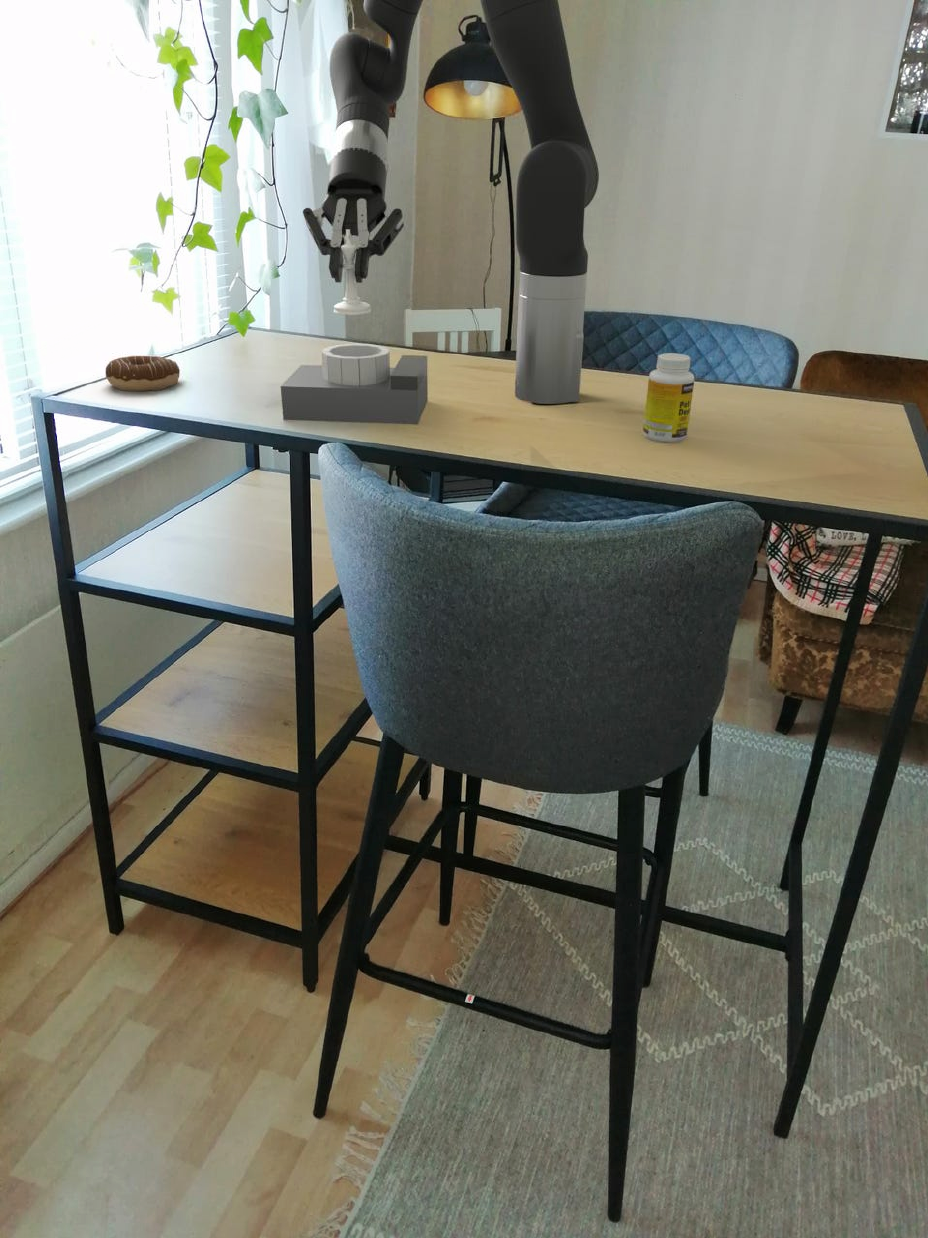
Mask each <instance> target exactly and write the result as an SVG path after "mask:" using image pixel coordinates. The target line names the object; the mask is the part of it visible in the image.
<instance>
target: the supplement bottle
mask: <svg viewBox="0 0 928 1238" xmlns="http://www.w3.org/2000/svg"><path fill="white" fill-rule="evenodd" d="M690 368H691V357H690V355H688V354H682V353H677V352H676V353H675V352H673V353H672V352H671V353H669V352H667V353H661V354H658V356H657V361H656V369H653V370H652V371H650V373H649V376H648V383H647V391H646V392H647V393H646V403H645V412H644V420H643V427H642V428H643V429H642V430H643V433H642V434H643V435H644V437H646V438H647V439H649V440H651V441H654V442H659V443H678V442H681V441H683V440H685V439H686V437H687V435H688V429H689V423H690V415H691V409H692V408H691V406H692V400H693V392H694V386H695V385H694V384H695V375H694V374H693V372H691V371H690Z"/></svg>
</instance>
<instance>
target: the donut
mask: <svg viewBox="0 0 928 1238" xmlns="http://www.w3.org/2000/svg"><path fill="white" fill-rule="evenodd" d="M180 373H181V372H180V368H179V365H178V363H177V362H176V361H174V360H173V359H170V358H166V357H162V356H151V355H130V356H129V355H128V356H122V357H118V358H115V359H112V360H111V361H109V363H107V365H106V367H105V377H106V379H107V381H108V383H109V384H110V385H112V386H113V387H114V388H116V389H119V390H122V391H129V392H148V391H158V390H163V389H166V388H169V387H170V388H171V386H174V385H175V384H176V383H177V382H178V380H179V379H180Z"/></svg>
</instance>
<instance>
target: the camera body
mask: <svg viewBox="0 0 928 1238" xmlns="http://www.w3.org/2000/svg"><path fill="white" fill-rule="evenodd" d="M390 358H391V357H390V349H389V348H387V347H385V346H383V345H376V344H371V343H347V344H346V343H345V344H337V345H331V346H327V347H325V348H324V349H323V350H322V351H321V365H319V364H317V365H316V364H315V365H313V364H301V365H299V367H298V368H297V369H296V370H295V371H294V372H293V373H292V374H291V375H290V376H289V377H288V378H287V379H286V380H285V381H284V382H283V383H282V384H281V385H280V393H281V404H282V405H281V407H282V417H283V419H282V420H283V421H301V422H302V421H303V422H305V421H306V422H307V421H308V422H310V421H311V422H332V423H333V422H335V423H339V422H340V423H365V424H391V425H392V424H393V425H397V424H398V425H419V422H420V420H421V417H422V415H423V413H424V410H425V408H426V405H427V403H428V401H429V400H428V399H429V398H428V394H429V393H428V389H429V388H428V355H418V354H417V355H413V354H402V356H401V357H400V359H399V360H398V362H397V363H396V366H395V367H391V359H390Z"/></svg>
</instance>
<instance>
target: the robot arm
mask: <svg viewBox="0 0 928 1238" xmlns="http://www.w3.org/2000/svg"><path fill="white" fill-rule="evenodd" d="M363 1H364V2H363V11H364V12H365V14H366V16H367V17H368V18H369V19H370V20H371V21H372V23H374V24H375V25H377V27H379V28H381V30H383V31H384V32H385V33H386V34H387V35H388V36H389V39H390V40H389V42H390V43H389V46H388V47H387V46H386V45H383V44H381V43H379V42H377V41H375V40H372V39H370V38H368V37H366V36H364V35H361V34H359V33H356V32H346V33H344V34H342V35H340V37H338V38H337V39H336V41H335V42H334V44H333V46H332V48H331V51H330V56H329V76H330V77H329V78H330V83H331V87H332V93H333V95H334V99H335V105H336V111H337V115H336V116H337V118H336V123H335V124H336V127H335V135H334V138H333V143H332V147H331V155H330V164H329V171H328V172H329V173H328V181H327V190H326V196H325V199H324V200H323V201H322V203H321V207H318V208H317V209H314V210H312V208H310V207H305V208H304V209H303V210H302V214H303V215H302V216H303V217H304V221H305V224H306V227H307V228H308V231H309V233H310V235H311V237H312V239H313V240H314V243H315V244H316V247H317V248H318V250H319V252H320V254H321V255H322V256H328V255H329V262H328V271H329V273H330V277H331V278H332V279H334V282H335V283H338V284H339V283H340V284H341V283H342V280H343V271H344V270H343V269H344V268H342V265H343V264H344V261H345V258H344V254H343V252H342V249H341V246H342V245H345V244H347V241H346V239H345V235H346V229H350V234H351V237H352V236H356V237H358V248H357V249H356V253H355V258H354V264H355V268H354V275H355V282H356V284H360V283H363V279H367V278H368V275H369V265H370V259H371V257H373V256H374V255H376V256H378V257H382V256H384V255H385V253H386V251H387V250H388V249H389V247H390V246H391V245H392V244H393V242H394V240H395V239H396V238H397V237H398V235H399V233H400V232H401V231H402V230H403V228H404V227H405V224H404V223H405V222H404V215H403V211H402V209H401V208H394V209H391V208H389V207H388V206H387V203H386V201H385V199H386V188H387V187H386V186H387V185H386V184H387V175H388V171H389V150H388V140H389V128H390V118H391V117H390V110H389V108H390V107H391V106H393V105H394V104H395V103H397V102H398V101H399V100H400V98H401V97H402V95H403V93H404V90H405V86H406V80H407V72H408V71H407V70H408V59H409V54H410V53H409V52H410V47H411V46H410V45H411V39H412V35H413V30H414V26H415V23H416V19H417V17H418V15H419V12H420V9H421V7H422V4H423V1H424V0H363ZM480 4H481V8H482V13H483V16H484V20H485V25H486V29H487V33H488V35H489V39H490V40H491V44H492V48H493V49H494V52H495V55H496V57H497V59H498V62H499V64H500V66H501V69H502V70H503V72H504V74H505V76H506V78H507V80H508V82H509V84H510V86H511V88H512V90H513V92H514V94H515V96H516V98H517V100H518V103H519V105H520V107H521V110H522V114H523V116H524V120H525V124H526V128H527V129H526V130H527V133H528V139H529V144H530V150H529V151H528V152H527V154H526V155H525V156H524V157H523V160H522V162H521V164H520V166H519V170H518V174H517V175H518V176H517V180H516V181H517V183H516V202H515V205H516V206H515V212H516V213H515V217H516V218H515V240H516V243H515V244H516V249H517V253H518V256H519V281H518V283H519V284H518V306H517V307H518V309H517V330H516V331H517V332H516V334H517V335H516V354H515V356H516V357H515V360H516V361H515V379H514V382H515V383H514V387H515V388H514V396H515V397H516V398H517V399H519V400H521V401H524V402H529V403H534V404H542V405H554V404H555V405H556V404H557V405H558V404H566V403H579V401H580V392H581V391H580V389H581V378H582V375H581V374H582V362H583V349H584V331H583V330H584V319H585V318H584V317H585V302H586V289H587V288H586V287H587V276H588V275H587V274H588V273H587V272H588V261H589V254H588V251H587V249H586V246H585V240H584V229H585V227H584V225H585V224H584V223H585V210H586V209H587V207H588V206H589V205H590V204H591V203H592V201H593V199H594V198H595V196H596V194H597V190H598V186H599V181H600V180H599V179H600V172H599V171H600V170H599V165H598V162H597V158H596V155H595V151H594V149H593V146H592V143H591V140H590V138H589V134H588V130H587V128H586V125H585V122H584V119H583V116H582V111H581V109H580V105H579V102H578V99H577V95H576V94H577V93H576V91H575V86H574V81H573V76H572V75H573V74H572V68H571V63H570V62H571V61H570V56H569V51H568V45H567V42H566V41H567V40H566V36H565V35H566V34H565V31H564V26H563V21H562V17H561V16H562V15H561V10H560V9H561V8H560V4H559V0H480ZM324 219H326V220H327V222H328V223H329V224H330V226H331V227H332V234H331V238H330V239H329V238H327V236H326V235H325V233H324V231H323V229H322V227H323V225H324ZM382 221H383V224H382V226H381V227H380V228H379V229H378V230H377V232H376V234H375V235H374V236H373V238H372V234H371V233H372V232H373V231H374V230H375V229H376V228H377V226H379V224H381V223H382Z"/></svg>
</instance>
